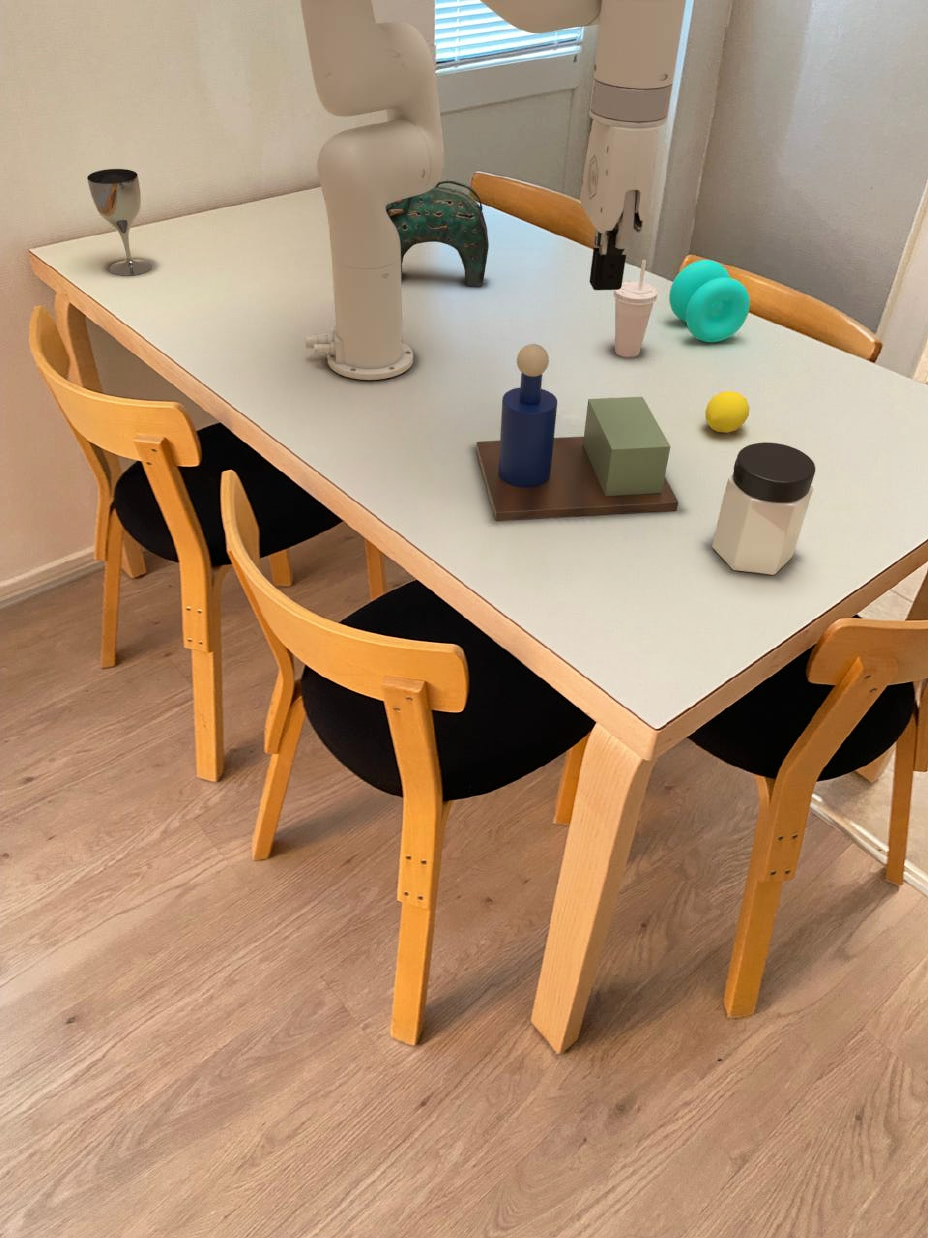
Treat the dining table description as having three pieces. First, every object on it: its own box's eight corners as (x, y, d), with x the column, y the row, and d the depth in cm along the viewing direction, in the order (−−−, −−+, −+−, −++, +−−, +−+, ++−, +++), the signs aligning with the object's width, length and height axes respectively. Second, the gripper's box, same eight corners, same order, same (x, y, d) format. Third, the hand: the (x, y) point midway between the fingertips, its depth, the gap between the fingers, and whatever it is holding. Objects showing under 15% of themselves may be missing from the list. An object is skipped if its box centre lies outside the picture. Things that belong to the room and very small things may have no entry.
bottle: (522, 509, 119) (444, 428, 110) (514, 480, 124) (438, 401, 115) (615, 441, 114) (541, 352, 106) (603, 414, 119) (531, 326, 110)
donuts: (685, 347, 150) (696, 283, 143) (661, 320, 157) (672, 258, 150) (745, 343, 151) (759, 280, 145) (719, 316, 159) (732, 255, 152)
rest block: (605, 496, 116) (611, 449, 112) (582, 444, 125) (588, 398, 121) (661, 493, 117) (670, 446, 112) (635, 441, 126) (642, 396, 121)
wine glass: (164, 265, 169) (148, 174, 159) (129, 279, 164) (110, 186, 154) (132, 255, 172) (114, 165, 162) (97, 269, 167) (76, 177, 157)
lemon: (725, 446, 128) (733, 409, 124) (691, 430, 131) (698, 394, 127) (754, 428, 131) (763, 392, 128) (721, 413, 134) (729, 377, 131)
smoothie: (646, 363, 145) (661, 270, 136) (604, 358, 146) (615, 266, 137) (649, 344, 150) (663, 254, 141) (607, 340, 151) (619, 249, 142)
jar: (737, 521, 115) (760, 431, 107) (802, 549, 111) (830, 458, 103) (699, 555, 109) (720, 464, 102) (765, 586, 106) (792, 493, 98)
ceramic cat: (369, 282, 166) (364, 157, 152) (376, 268, 170) (372, 145, 157) (485, 291, 164) (490, 165, 151) (488, 276, 169) (494, 153, 156)
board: (495, 520, 114) (496, 512, 113) (476, 449, 126) (476, 441, 125) (677, 510, 116) (678, 502, 115) (641, 441, 128) (642, 433, 127)
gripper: (575, 80, 98) (557, 260, 111) (611, 122, 87) (586, 317, 99) (646, 81, 99) (621, 259, 111) (691, 123, 88) (657, 315, 100)
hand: (605, 286), depth 105 cm, fingers closed
